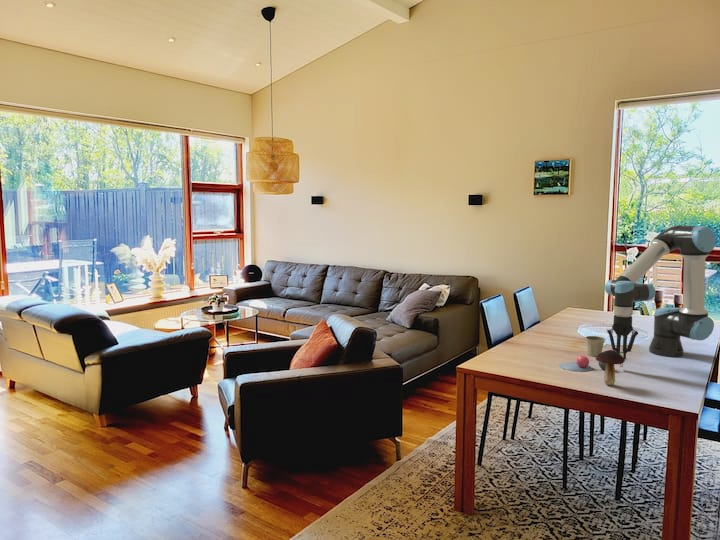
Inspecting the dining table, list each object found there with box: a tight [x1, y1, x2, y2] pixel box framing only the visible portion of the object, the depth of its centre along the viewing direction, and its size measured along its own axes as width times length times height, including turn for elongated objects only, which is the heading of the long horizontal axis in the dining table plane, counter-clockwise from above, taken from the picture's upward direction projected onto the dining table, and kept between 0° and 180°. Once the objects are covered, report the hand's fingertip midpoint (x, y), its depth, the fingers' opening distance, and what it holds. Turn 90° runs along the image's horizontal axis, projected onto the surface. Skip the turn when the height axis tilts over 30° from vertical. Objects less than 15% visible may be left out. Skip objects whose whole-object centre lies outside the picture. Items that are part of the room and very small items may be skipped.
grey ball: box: [598, 361, 606, 371], centre depth 242 cm, size 6×6×6 cm
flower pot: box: [584, 335, 606, 357], centre depth 265 cm, size 9×9×9 cm
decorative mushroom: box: [595, 349, 626, 386], centre depth 220 cm, size 11×11×15 cm
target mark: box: [559, 361, 593, 373], centre depth 246 cm, size 14×14×1 cm
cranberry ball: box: [575, 355, 590, 368], centre depth 245 cm, size 6×6×6 cm
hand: (620, 366), depth 240 cm, fingers closed
